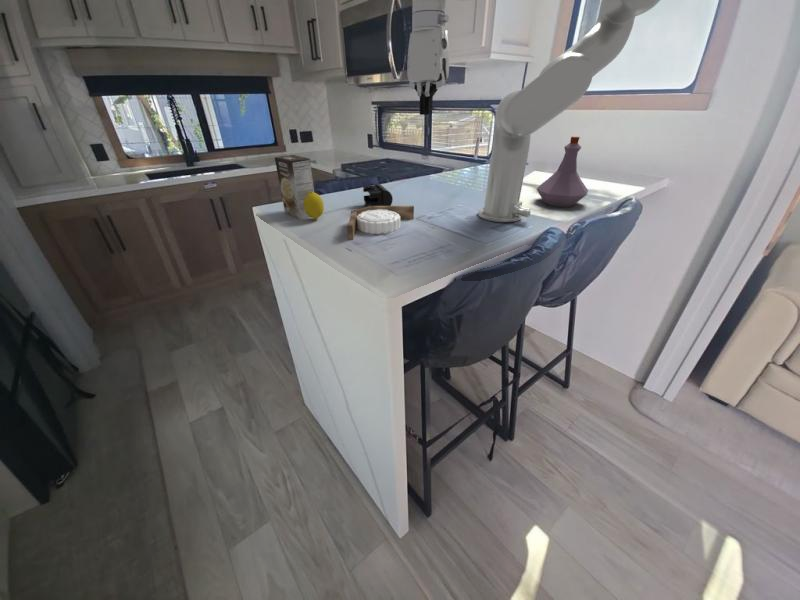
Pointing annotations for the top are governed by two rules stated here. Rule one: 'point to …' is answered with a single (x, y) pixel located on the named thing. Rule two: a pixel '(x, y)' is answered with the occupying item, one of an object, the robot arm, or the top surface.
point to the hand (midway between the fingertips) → (425, 114)
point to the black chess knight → (377, 196)
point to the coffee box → (294, 183)
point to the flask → (564, 180)
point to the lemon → (313, 205)
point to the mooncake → (378, 221)
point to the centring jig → (403, 211)
